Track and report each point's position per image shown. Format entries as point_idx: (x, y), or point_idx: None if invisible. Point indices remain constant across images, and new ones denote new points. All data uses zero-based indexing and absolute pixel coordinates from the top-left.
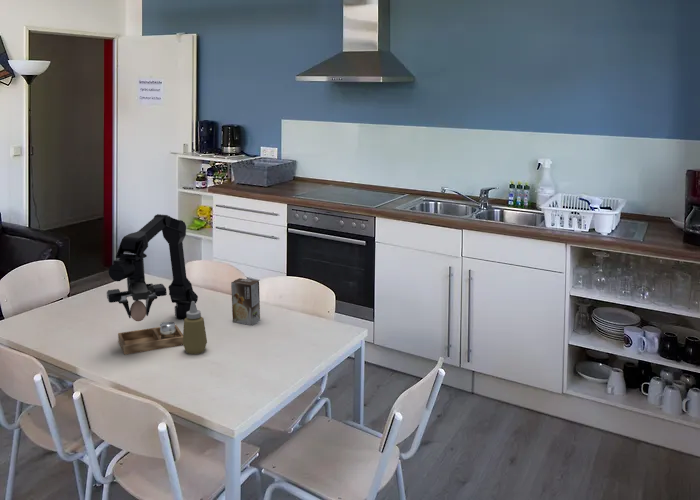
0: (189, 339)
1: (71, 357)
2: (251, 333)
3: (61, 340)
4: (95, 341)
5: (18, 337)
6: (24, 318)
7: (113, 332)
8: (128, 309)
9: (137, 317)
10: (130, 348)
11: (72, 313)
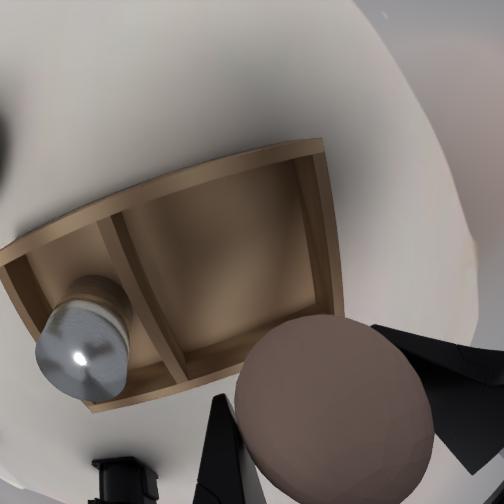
0: None
1: (438, 184)
2: None
3: (437, 310)
4: (384, 310)
5: (471, 317)
6: None
7: None
8: (448, 359)
9: (323, 319)
10: (280, 144)
11: None
